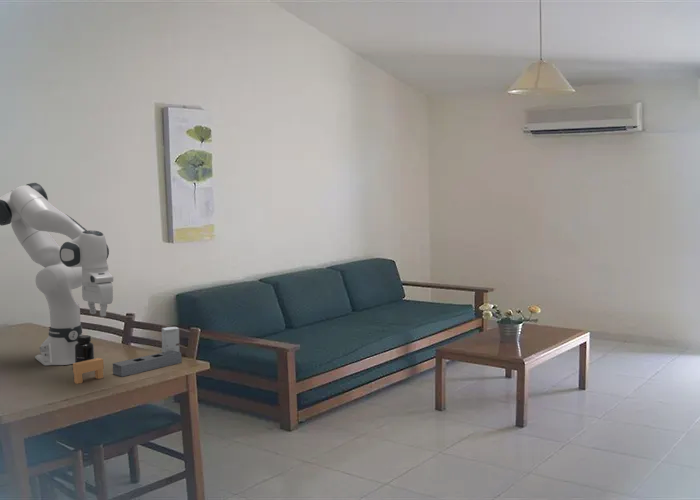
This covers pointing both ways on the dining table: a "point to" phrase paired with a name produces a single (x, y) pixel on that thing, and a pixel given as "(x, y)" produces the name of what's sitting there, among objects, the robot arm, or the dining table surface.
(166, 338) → the skincare box
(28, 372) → the dining table surface
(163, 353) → the rail
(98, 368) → the clip
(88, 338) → the supplement bottle
